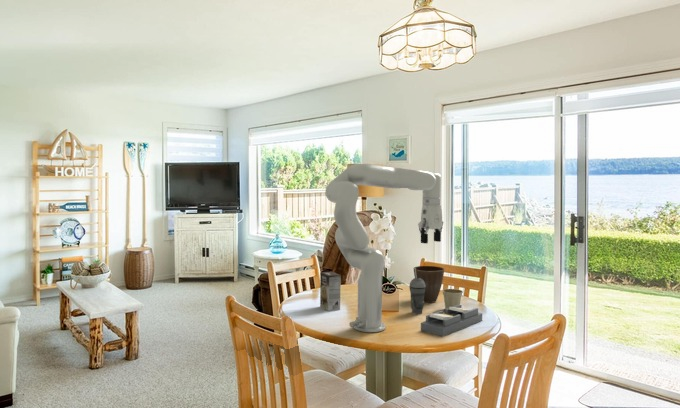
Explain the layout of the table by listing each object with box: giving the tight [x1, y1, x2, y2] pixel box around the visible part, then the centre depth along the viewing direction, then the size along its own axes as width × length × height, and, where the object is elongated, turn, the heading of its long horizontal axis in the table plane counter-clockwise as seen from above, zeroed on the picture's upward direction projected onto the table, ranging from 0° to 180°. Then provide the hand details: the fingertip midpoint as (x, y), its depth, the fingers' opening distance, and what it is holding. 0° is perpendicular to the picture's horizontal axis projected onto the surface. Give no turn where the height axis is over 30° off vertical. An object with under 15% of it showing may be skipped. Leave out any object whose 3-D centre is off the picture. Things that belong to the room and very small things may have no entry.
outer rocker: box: [449, 307, 470, 313], centre depth 189 cm, size 10×6×1 cm, turn 135°
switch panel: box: [420, 304, 483, 337], centre depth 184 cm, size 30×10×5 cm, turn 135°
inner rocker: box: [429, 313, 453, 320], centre depth 179 cm, size 10×6×1 cm, turn 135°
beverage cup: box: [408, 268, 426, 315], centre depth 203 cm, size 7×7×20 cm
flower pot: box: [441, 288, 464, 309], centre depth 208 cm, size 9×9×9 cm
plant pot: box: [412, 265, 445, 303], centre depth 225 cm, size 15×15×16 cm
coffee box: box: [319, 271, 342, 312], centre depth 209 cm, size 9×6×16 cm
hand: (430, 242), depth 195 cm, fingers open, 9 cm apart
